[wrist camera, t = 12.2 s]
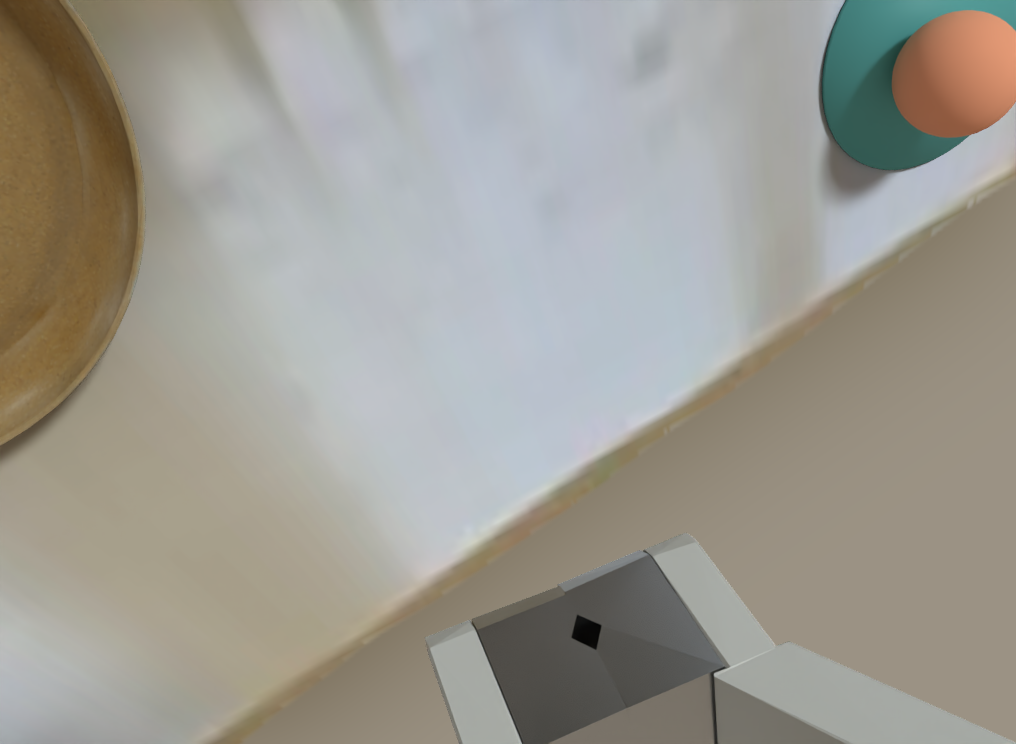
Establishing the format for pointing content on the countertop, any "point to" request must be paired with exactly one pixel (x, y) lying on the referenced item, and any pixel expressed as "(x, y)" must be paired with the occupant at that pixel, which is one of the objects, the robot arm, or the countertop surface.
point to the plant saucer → (60, 208)
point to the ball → (956, 74)
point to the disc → (883, 78)
